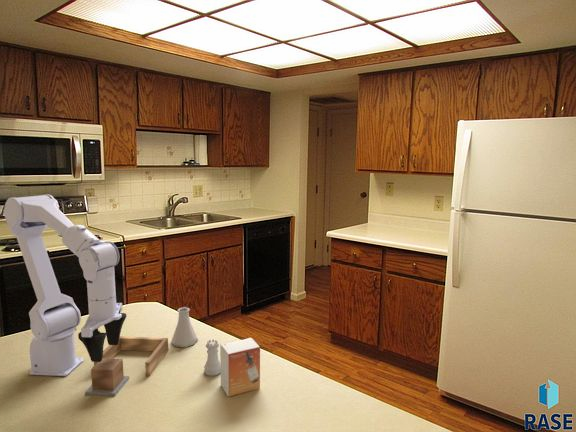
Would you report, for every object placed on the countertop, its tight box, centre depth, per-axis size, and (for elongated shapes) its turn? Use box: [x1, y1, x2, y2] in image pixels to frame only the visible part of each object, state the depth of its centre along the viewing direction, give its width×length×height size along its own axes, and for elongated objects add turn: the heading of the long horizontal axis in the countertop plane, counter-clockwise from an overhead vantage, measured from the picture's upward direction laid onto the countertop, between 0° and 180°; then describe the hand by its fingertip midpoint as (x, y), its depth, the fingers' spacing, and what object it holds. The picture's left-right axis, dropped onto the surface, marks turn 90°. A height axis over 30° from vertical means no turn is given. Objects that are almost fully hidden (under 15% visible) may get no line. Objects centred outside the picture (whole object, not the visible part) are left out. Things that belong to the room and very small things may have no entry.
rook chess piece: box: [203, 339, 221, 377], centre depth 100 cm, size 4×4×8 cm
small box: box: [219, 337, 261, 398], centre depth 93 cm, size 8×6×10 cm
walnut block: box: [90, 358, 125, 390], centre depth 93 cm, size 5×5×5 cm
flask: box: [170, 306, 199, 348], centre depth 115 cm, size 7×7×10 cm
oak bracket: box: [93, 335, 169, 377], centre depth 105 cm, size 14×13×4 cm
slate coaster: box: [84, 375, 130, 397], centre depth 94 cm, size 7×7×1 cm
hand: (105, 352), depth 93 cm, fingers open, 7 cm apart
